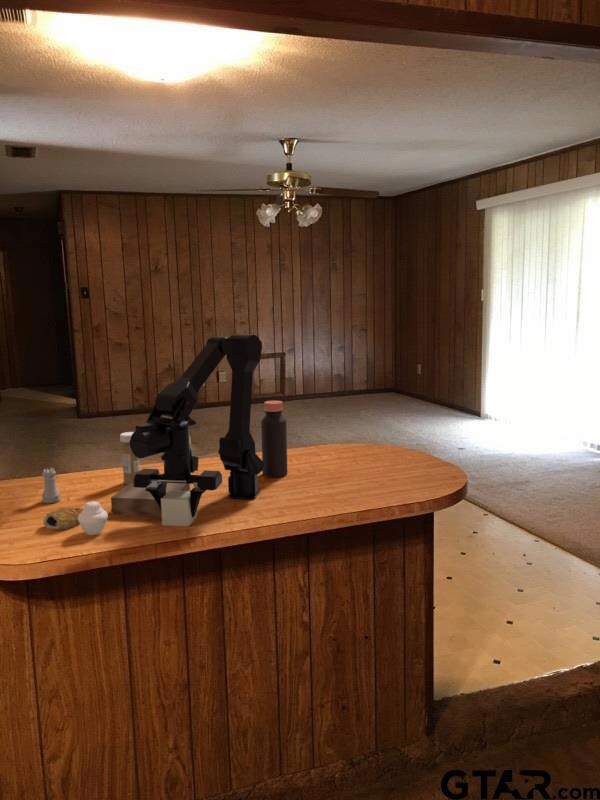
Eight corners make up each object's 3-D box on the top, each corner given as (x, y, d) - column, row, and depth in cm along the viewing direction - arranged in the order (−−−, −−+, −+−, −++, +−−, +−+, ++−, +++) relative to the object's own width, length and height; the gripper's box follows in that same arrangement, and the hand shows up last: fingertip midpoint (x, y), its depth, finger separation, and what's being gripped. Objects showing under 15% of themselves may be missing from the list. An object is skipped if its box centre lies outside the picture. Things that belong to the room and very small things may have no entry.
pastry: (75, 514, 155) (74, 498, 155) (95, 520, 152) (94, 504, 151) (41, 527, 147) (39, 511, 147) (61, 533, 144) (59, 516, 143)
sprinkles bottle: (143, 483, 177) (140, 433, 174) (126, 486, 174) (123, 436, 172) (137, 479, 181) (134, 430, 178) (120, 482, 178) (117, 433, 176)
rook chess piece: (64, 498, 166) (62, 467, 164) (52, 504, 162) (50, 472, 160) (49, 497, 167) (47, 466, 166) (37, 503, 163) (34, 471, 162)
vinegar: (292, 472, 184) (290, 401, 181) (278, 479, 179) (276, 405, 175) (271, 469, 188) (270, 398, 184) (257, 475, 182) (255, 403, 179)
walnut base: (190, 496, 166) (189, 481, 165) (170, 516, 152) (169, 499, 151) (136, 494, 168) (135, 479, 167) (112, 514, 154) (110, 497, 154)
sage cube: (197, 516, 152) (196, 491, 151) (188, 526, 146) (187, 499, 145) (171, 515, 153) (170, 490, 152) (162, 525, 147) (160, 498, 146)
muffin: (109, 536, 142) (106, 504, 140) (78, 539, 140) (75, 507, 139) (108, 525, 147) (106, 495, 146) (79, 529, 146) (76, 498, 144)
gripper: (227, 440, 153) (230, 505, 156) (149, 438, 156) (153, 502, 159) (213, 452, 142) (216, 523, 145) (130, 450, 145) (134, 519, 148)
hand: (179, 516), depth 150 cm, fingers closed on sage cube, 6 cm apart
